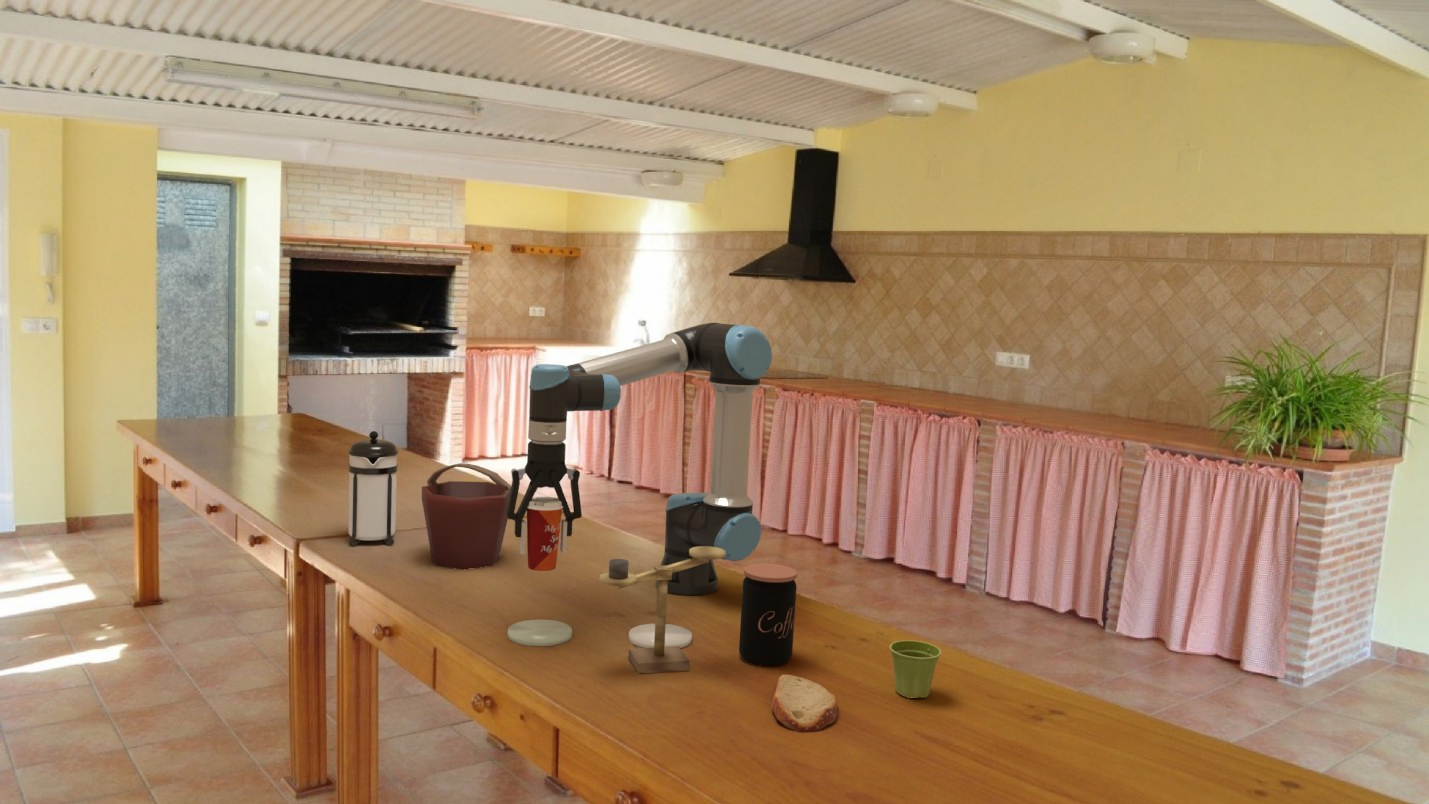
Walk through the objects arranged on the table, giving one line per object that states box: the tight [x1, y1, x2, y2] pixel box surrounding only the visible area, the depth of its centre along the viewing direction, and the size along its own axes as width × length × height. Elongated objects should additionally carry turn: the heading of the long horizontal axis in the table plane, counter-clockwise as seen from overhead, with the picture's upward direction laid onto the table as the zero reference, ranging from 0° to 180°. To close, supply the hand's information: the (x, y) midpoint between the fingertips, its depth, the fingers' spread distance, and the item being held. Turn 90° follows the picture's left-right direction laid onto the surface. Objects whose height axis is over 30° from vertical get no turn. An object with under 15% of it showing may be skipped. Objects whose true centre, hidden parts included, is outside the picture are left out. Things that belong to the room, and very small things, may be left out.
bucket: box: [421, 462, 512, 571], centre depth 266 cm, size 24×22×25 cm
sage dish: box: [507, 619, 573, 647], centre depth 214 cm, size 13×13×1 cm
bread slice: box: [771, 674, 838, 733], centre depth 185 cm, size 18×18×4 cm
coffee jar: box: [738, 562, 798, 668], centre depth 207 cm, size 11×11×18 cm
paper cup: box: [526, 496, 563, 572], centre depth 212 cm, size 8×8×14 cm
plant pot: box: [889, 639, 942, 699], centre depth 193 cm, size 9×9×9 cm
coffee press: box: [347, 430, 399, 547], centre depth 281 cm, size 17×16×30 cm
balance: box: [599, 546, 726, 675], centre depth 200 cm, size 24×8×22 cm, turn 108°
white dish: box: [628, 623, 693, 649], centre depth 216 cm, size 13×13×1 cm
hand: (542, 552), depth 213 cm, fingers closed on paper cup, 8 cm apart
